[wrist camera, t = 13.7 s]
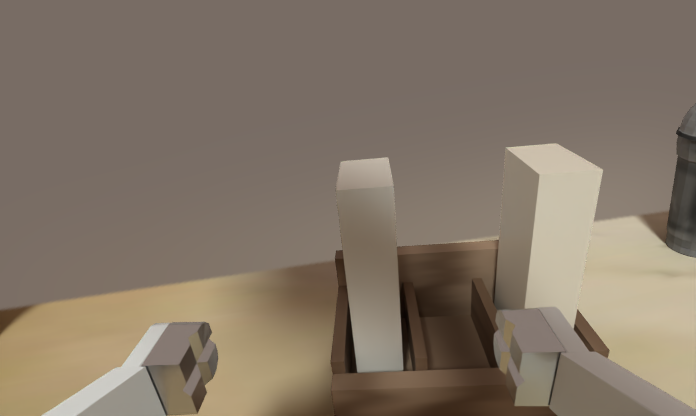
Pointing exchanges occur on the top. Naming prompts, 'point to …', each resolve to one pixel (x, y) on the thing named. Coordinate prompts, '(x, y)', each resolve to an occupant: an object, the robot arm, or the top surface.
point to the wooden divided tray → (436, 340)
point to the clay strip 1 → (371, 262)
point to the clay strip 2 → (545, 228)
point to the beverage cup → (684, 190)
